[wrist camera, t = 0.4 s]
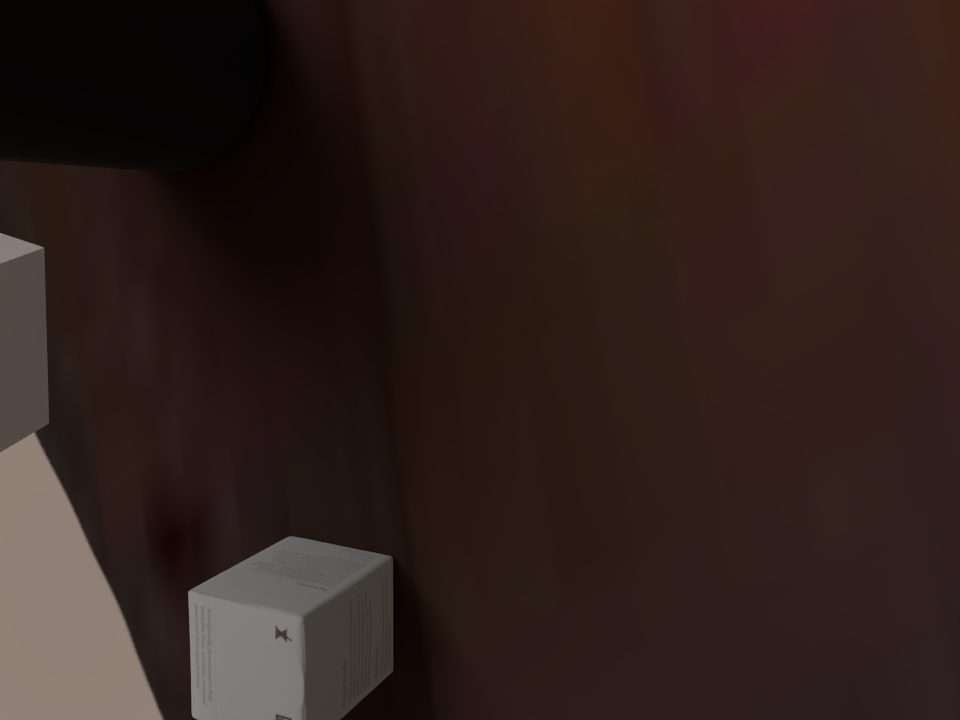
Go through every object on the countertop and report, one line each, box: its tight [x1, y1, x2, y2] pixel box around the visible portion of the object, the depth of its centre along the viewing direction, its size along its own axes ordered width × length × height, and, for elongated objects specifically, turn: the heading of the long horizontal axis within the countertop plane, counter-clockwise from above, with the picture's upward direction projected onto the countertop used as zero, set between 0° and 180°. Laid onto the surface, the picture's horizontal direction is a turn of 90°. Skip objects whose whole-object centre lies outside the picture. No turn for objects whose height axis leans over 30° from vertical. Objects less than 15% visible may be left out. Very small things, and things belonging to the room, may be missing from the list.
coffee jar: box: [0, 0, 266, 172], centre depth 35 cm, size 11×11×18 cm
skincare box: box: [188, 536, 393, 720], centre depth 40 cm, size 6×6×7 cm
